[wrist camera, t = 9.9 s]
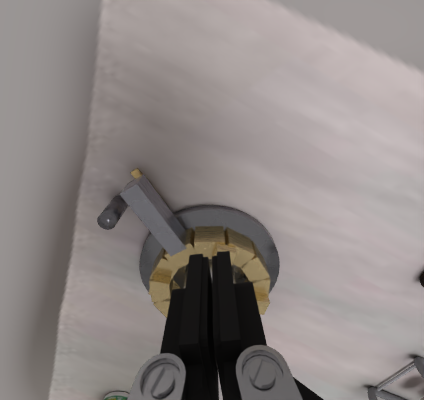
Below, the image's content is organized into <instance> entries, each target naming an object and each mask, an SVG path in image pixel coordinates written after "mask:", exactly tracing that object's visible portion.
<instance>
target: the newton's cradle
mask: <svg viewBox="0 0 424 400" xmlns="http://www.w3.org/2000/svg"><path fill="white" fill-rule="evenodd" d="M414 368H417V370H418V371H419V373H420V374H421V375H422V377H423V378H424V358H421V357H416V358H414V365H412V366H411V367H409V368H407V369H406V370H404V371H403V372H401V373H400V374H398V375H397V376H395V377H394V378H392V379H391V380H389V381H387V382H386V383H384V384H383V385H381V386H380V387H378V388H375V387H370V388H369V389H368V397H369V400H377V398H376V396H378V397H380V398H383V399H385V400H405V399H403V398H400V397H398V396H395V395H393V394H390V393H388V392H385V391H383V390H381V389H383V388H384V387H386V386H388V385H389V384H391V383H392V382H394V381H395V380H397V379H398V378H400V377H402V376H403V375H405V374H406V373H408V372H409V371H411V370H412V369H414ZM421 400H424V397H423V398H422V399H421Z"/></svg>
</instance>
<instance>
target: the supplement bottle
mask: <svg viewBox="0 0 424 400" xmlns="http://www.w3.org/2000/svg"><path fill="white" fill-rule="evenodd" d="M128 396H129V394H128V393H126V392H120V391H115V392H111V393H109V394H107V395H106V396H105V398H104V399H103V400H126V399H127V398H128Z"/></svg>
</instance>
